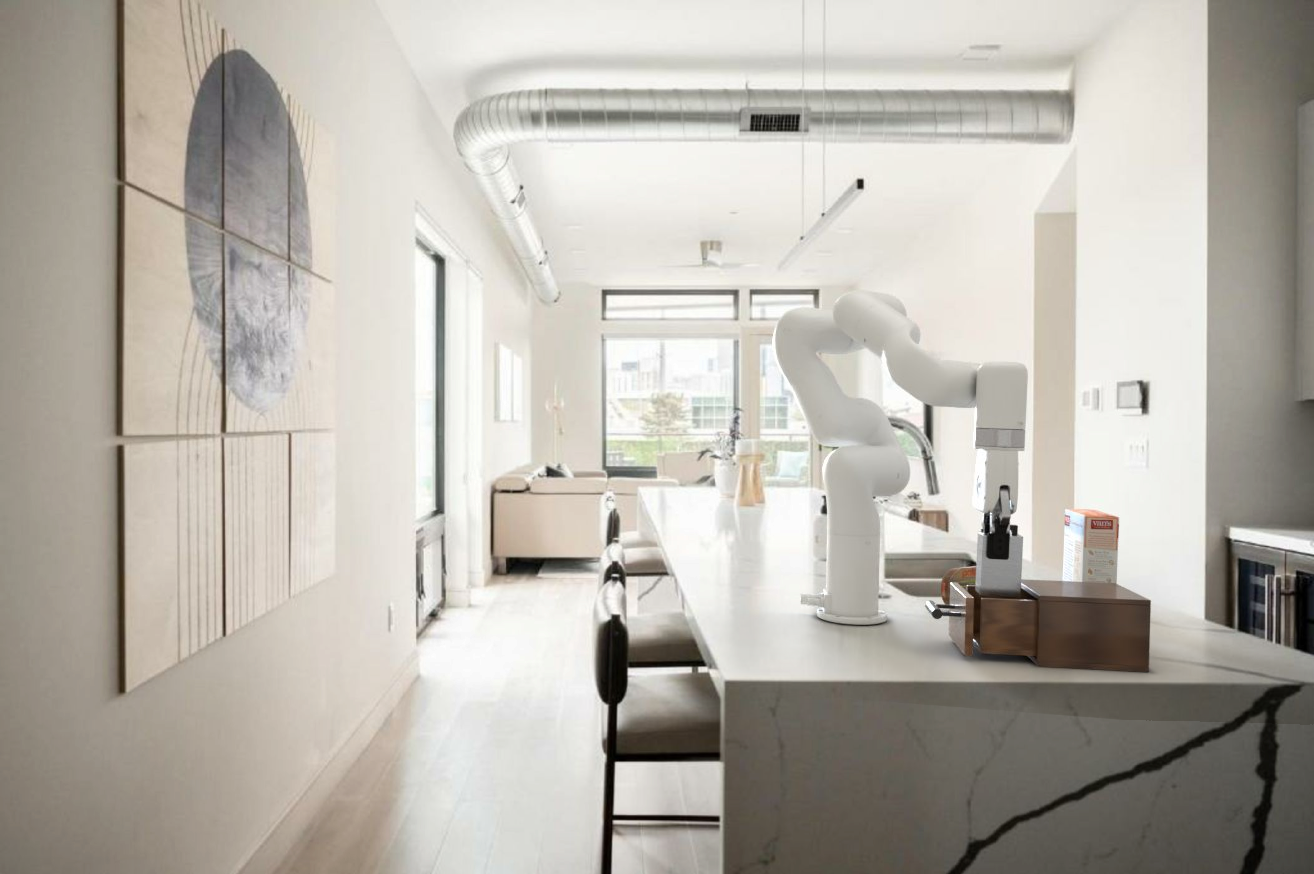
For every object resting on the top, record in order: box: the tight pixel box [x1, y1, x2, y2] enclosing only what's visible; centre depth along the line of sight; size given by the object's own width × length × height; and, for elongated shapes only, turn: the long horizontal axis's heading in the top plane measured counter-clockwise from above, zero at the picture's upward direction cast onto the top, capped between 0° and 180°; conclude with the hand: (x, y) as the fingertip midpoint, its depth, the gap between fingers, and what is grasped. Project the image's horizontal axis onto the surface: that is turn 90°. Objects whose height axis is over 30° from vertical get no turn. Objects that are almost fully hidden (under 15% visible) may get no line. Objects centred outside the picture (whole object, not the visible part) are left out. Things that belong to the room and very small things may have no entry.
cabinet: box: [1021, 578, 1152, 673], centre depth 143 cm, size 16×15×11 cm
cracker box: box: [1062, 508, 1120, 584], centre depth 162 cm, size 14×6×21 cm, turn 168°
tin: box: [940, 565, 976, 605], centre depth 179 cm, size 15×3×8 cm, turn 117°
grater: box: [975, 523, 1024, 597], centre depth 145 cm, size 6×4×11 cm, turn 82°
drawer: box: [924, 582, 1038, 657], centre depth 145 cm, size 19×13×9 cm
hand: (994, 555), depth 145 cm, fingers closed on grater, 4 cm apart
